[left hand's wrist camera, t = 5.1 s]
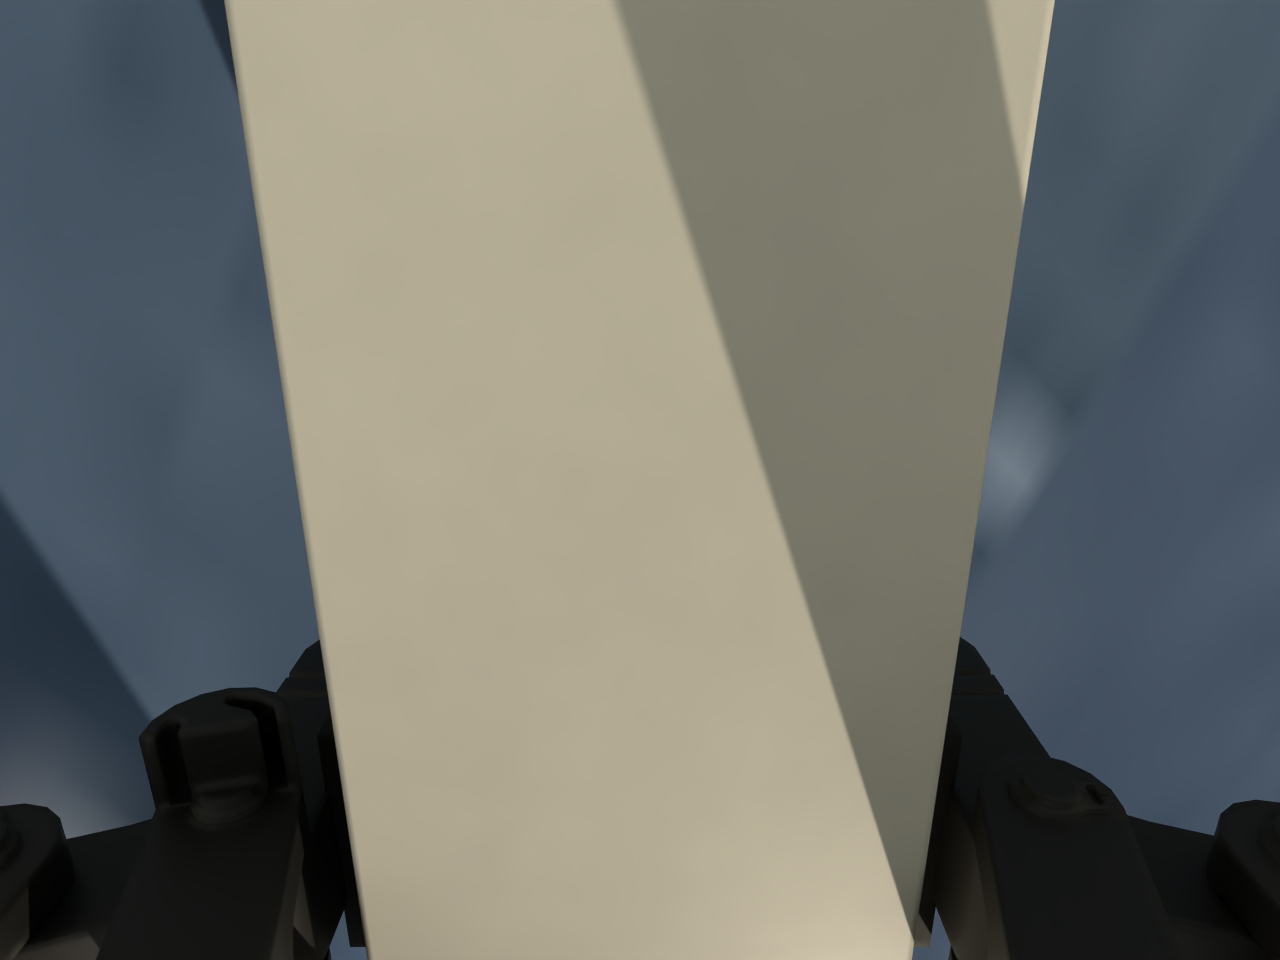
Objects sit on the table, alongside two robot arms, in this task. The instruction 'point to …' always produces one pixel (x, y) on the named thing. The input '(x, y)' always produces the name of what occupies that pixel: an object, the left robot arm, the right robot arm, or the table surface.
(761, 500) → the post
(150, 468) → the table surface
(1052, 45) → the table surface
